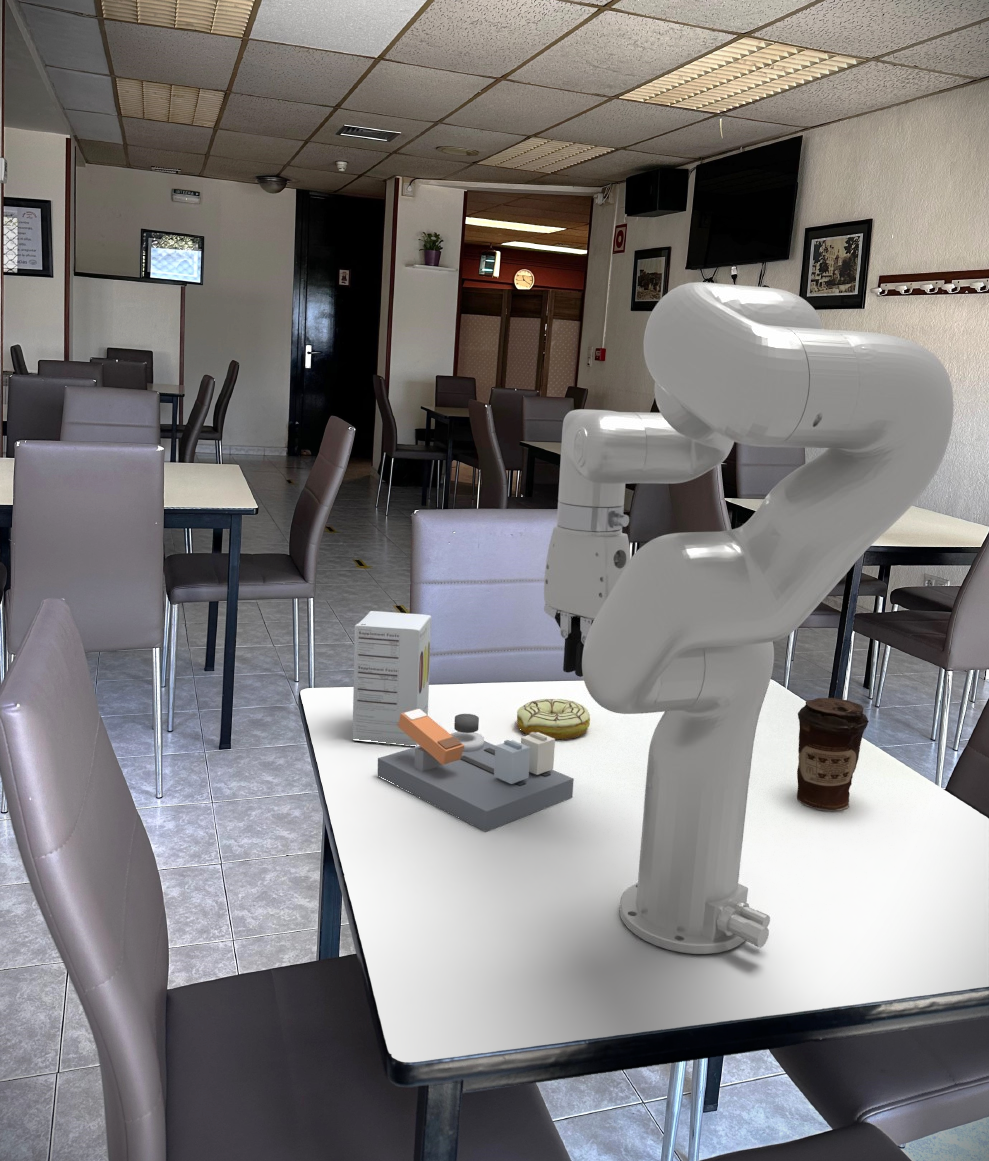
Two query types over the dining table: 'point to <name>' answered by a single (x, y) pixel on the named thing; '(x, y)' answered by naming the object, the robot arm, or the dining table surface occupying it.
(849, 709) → the coffee cup
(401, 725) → the rocker switch
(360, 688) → the supplement box
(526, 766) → the slate knob
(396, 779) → the console
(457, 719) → the push button
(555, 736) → the decorated donut
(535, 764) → the ivory knob
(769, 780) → the dining table surface
